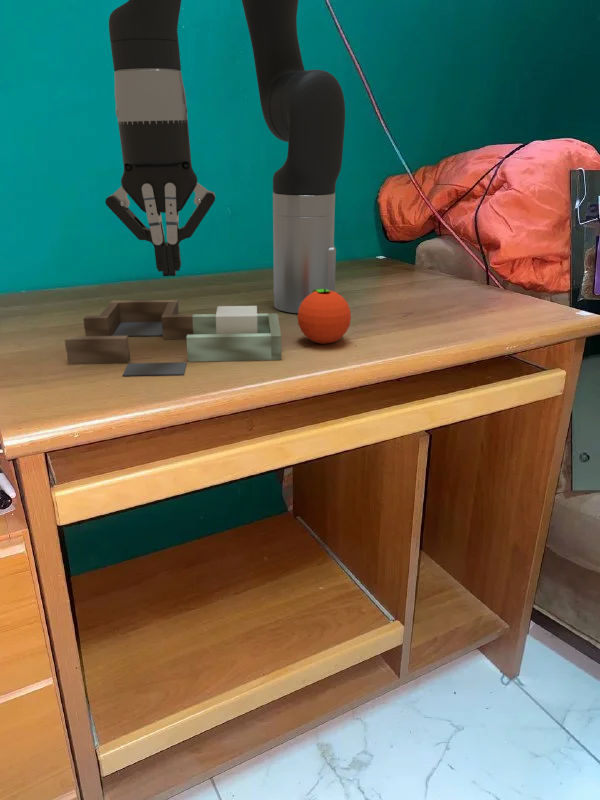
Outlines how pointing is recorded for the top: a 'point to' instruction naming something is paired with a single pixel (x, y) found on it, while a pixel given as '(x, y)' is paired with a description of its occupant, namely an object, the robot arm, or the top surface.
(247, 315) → the cream block
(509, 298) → the top surface
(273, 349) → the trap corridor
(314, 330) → the clementine
